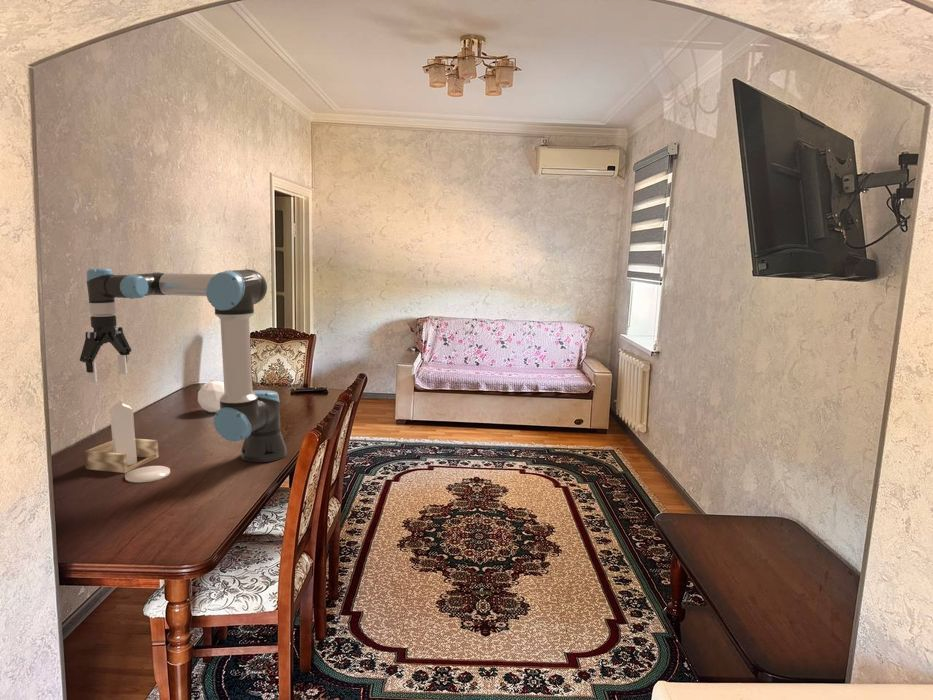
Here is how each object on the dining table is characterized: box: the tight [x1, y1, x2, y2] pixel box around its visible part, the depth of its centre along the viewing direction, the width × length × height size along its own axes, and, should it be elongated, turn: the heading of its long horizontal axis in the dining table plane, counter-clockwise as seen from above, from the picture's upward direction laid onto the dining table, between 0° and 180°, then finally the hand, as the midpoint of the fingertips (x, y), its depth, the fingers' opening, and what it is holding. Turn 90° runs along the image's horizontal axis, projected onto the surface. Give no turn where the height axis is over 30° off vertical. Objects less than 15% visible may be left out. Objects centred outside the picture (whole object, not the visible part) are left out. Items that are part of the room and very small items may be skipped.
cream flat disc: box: [124, 465, 171, 484], centre depth 208 cm, size 13×13×1 cm
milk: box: [109, 397, 138, 466], centre depth 218 cm, size 6×6×22 cm
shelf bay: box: [83, 437, 160, 474], centre depth 219 cm, size 15×16×6 cm
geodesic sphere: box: [197, 379, 224, 413], centre depth 283 cm, size 15×14×14 cm
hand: (108, 377), depth 221 cm, fingers open, 13 cm apart
